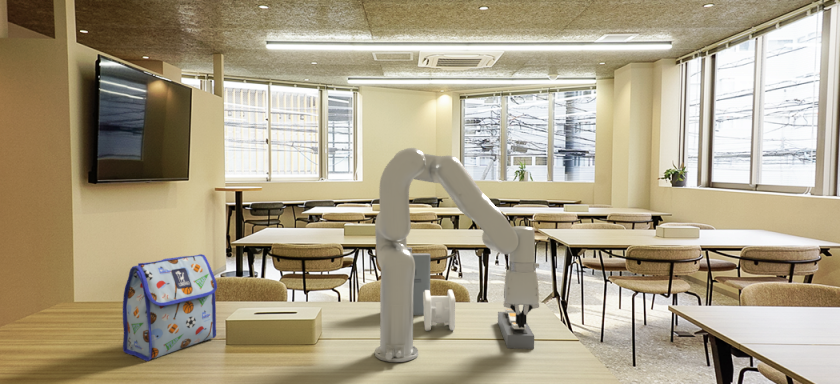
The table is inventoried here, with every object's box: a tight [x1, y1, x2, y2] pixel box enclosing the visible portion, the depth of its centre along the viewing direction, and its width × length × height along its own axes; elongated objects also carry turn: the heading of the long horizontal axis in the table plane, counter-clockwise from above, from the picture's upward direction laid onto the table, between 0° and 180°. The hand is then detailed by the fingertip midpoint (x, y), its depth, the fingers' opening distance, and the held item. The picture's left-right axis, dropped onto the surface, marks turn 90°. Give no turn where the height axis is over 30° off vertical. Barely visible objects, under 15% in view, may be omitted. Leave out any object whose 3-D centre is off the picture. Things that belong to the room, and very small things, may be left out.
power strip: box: [497, 311, 535, 350], centre depth 164 cm, size 34×8×5 cm, turn 177°
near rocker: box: [512, 323, 526, 329], centre depth 151 cm, size 5×4×1 cm
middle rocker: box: [508, 313, 516, 323], centre depth 159 cm, size 5×4×1 cm
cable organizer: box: [423, 289, 456, 332], centre depth 167 cm, size 15×11×12 cm
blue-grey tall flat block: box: [407, 246, 431, 316], centre depth 182 cm, size 17×5×25 cm, turn 89°
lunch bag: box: [122, 253, 218, 362], centre depth 145 cm, size 23×17×27 cm
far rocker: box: [504, 308, 515, 313], centre depth 167 cm, size 5×4×1 cm
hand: (520, 326), depth 149 cm, fingers closed
